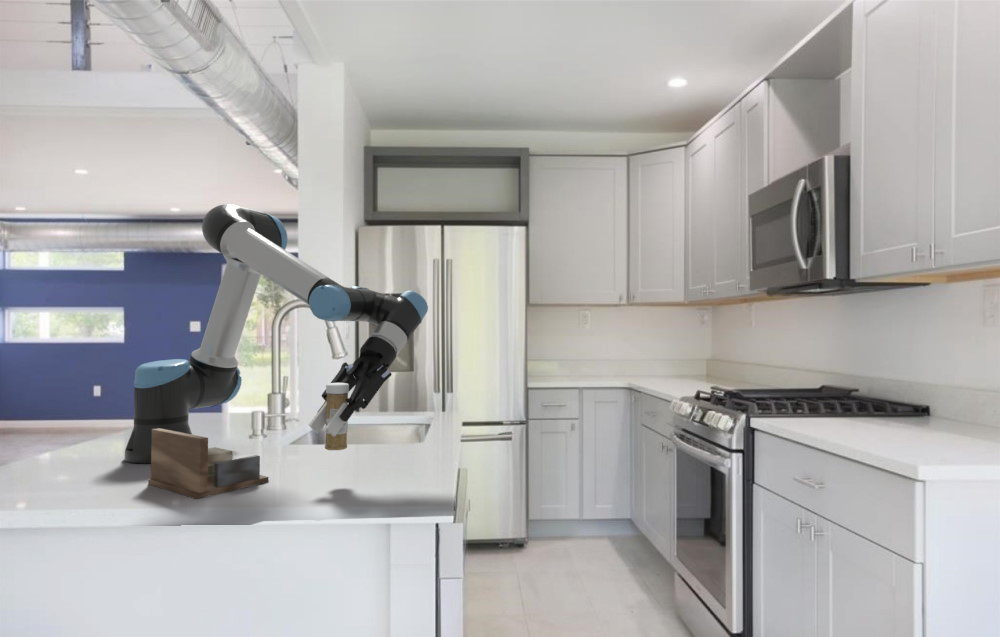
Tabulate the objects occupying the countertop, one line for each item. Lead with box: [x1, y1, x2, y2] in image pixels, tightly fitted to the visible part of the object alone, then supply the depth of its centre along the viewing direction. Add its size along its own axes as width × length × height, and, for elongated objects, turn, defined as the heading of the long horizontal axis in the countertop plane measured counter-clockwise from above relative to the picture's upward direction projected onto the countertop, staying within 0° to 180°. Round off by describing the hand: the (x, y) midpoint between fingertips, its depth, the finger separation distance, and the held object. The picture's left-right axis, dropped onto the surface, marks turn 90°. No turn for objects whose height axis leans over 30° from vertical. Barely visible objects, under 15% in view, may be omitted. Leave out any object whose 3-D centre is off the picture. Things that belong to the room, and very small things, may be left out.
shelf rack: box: [147, 428, 269, 500], centre depth 121 cm, size 15×18×11 cm
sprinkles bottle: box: [324, 382, 350, 451], centre depth 122 cm, size 5×5×14 cm
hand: (321, 430), depth 119 cm, fingers closed on sprinkles bottle, 4 cm apart
